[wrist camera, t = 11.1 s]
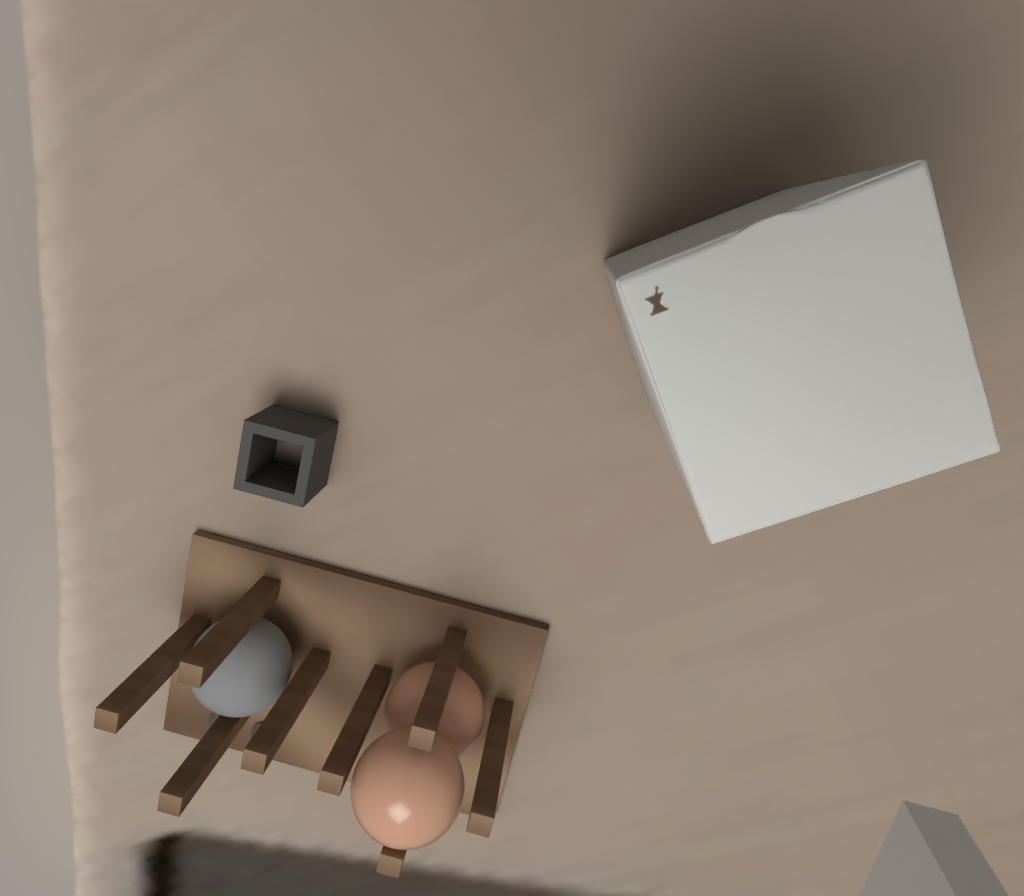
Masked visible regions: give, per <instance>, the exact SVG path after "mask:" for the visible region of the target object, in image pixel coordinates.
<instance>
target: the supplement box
mask: <svg viewBox="0 0 1024 896" xmlns="http://www.w3.org/2000/svg"><path fill="white" fill-rule="evenodd" d="M603 264H604V268H605V271H606V275H607V278H608V281H609V284H610V287H611V290H612V293H613V296H614V299H615V302H616V305H617V308H618V312H619V315H620V318H621V321H622V324H623V327H624V330H625V333H626V336H627V339H628V343H629V345H630V348H631V351H632V354H633V357H634V360H635V363H636V366H637V369H638V372H639V374H640V377H641V380H642V383H643V385H644V388H645V391H646V393H647V396H648V399H649V401H650V404H651V407H652V409H653V412H654V414H655V417H656V419H657V422H658V424H659V427H660V429H661V432H662V434H663V436H664V439H665V441H666V443H667V446H668V448H669V451H670V453H671V455H672V458H673V460H674V462H675V465H676V467H677V469H678V471H679V474H680V476H681V478H682V480H683V483H684V485H685V487H686V490H687V492H688V494H689V496H690V499H691V501H692V503H693V506H694V508H695V510H696V512H697V515H698V517H699V519H700V521H701V524H702V526H703V528H704V531H705V533H706V535H707V537H708V540H709V541H710V543H712V544H714V543H717V542H720V541H723V540H727V539H730V538H733V537H736V536H739V535H742V534H746V533H749V532H752V531H755V530H758V529H761V528H764V527H767V526H770V525H773V524H777V523H780V522H783V521H786V520H789V519H792V518H795V517H798V516H801V515H804V514H808V513H811V512H814V511H817V510H820V509H823V508H826V507H829V506H832V505H835V504H839V503H842V502H845V501H848V500H851V499H854V498H857V497H861V496H864V495H867V494H870V493H873V492H876V491H879V490H882V489H886V488H889V487H892V486H895V485H898V484H901V483H904V482H908V481H911V480H914V479H917V478H920V477H923V476H926V475H929V474H932V473H935V472H938V471H941V470H944V469H947V468H950V467H953V466H956V465H959V464H962V463H965V462H969V461H972V460H975V459H978V458H981V457H984V456H987V455H991V454H994V453H997V452H999V451H1000V447H999V444H998V441H997V439H996V435H995V431H994V427H993V423H992V419H991V415H990V410H989V406H988V403H987V399H986V396H985V392H984V388H983V384H982V382H981V378H980V373H979V370H978V366H977V363H976V359H975V356H974V352H973V348H972V344H971V340H970V336H969V332H968V329H967V325H966V321H965V318H964V314H963V310H962V306H961V302H960V298H959V294H958V290H957V286H956V282H955V278H954V274H953V270H952V265H951V261H950V257H949V253H948V249H947V245H946V240H945V236H944V232H943V228H942V223H941V219H940V215H939V211H938V206H937V202H936V198H935V194H934V189H933V185H932V181H931V177H930V173H929V169H928V165H927V162H926V160H914V161H907V162H902V163H897V164H893V165H889V166H884V167H880V168H875V169H871V170H867V171H862V172H858V173H854V174H850V175H845V176H841V177H837V178H833V179H828V180H824V181H820V182H815V183H811V184H807V185H802V186H798V187H793V188H789V189H785V190H782V191H779V192H777V193H774V194H771V195H769V196H766V197H763V198H761V199H758V200H756V201H753V202H751V203H748V204H745V205H743V206H740V207H738V208H735V209H732V210H730V211H727V212H725V213H722V214H720V215H717V216H714V217H712V218H709V219H707V220H704V221H702V222H699V223H697V224H694V225H691V226H689V227H686V228H684V229H681V230H679V231H676V232H673V233H671V234H668V235H666V236H663V237H661V238H658V239H655V240H653V241H650V242H648V243H645V244H643V245H640V246H638V247H635V248H633V249H630V250H627V251H625V252H622V253H620V254H617V255H615V256H612V257H610V258H608V259H606V260H605V261H604V263H603Z"/></svg>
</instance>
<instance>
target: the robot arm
mask: <svg viewBox="0 0 1024 896" xmlns="http://www.w3.org/2000/svg"><path fill="white" fill-rule="evenodd" d="M860 896H1008V894H1007V893H1006V891H1005V889H1004V888H1003V886H1002V885H1001V883H1000V881H999V880H998V878H997V877H996V875H995V873H994V872H993V870H992V869H991V867H990V866H989V864H988V862H987V861H986V859H985V858H984V856H983V854H982V853H981V851H980V850H979V848H978V847H977V845H976V843H975V842H974V840H973V839H972V837H971V835H970V834H969V832H968V831H967V829H966V827H965V826H964V824H963V823H962V821H961V820H960V818H959V816H958V815H955V814H952V813H948V812H944V811H941V810H937V809H933V808H930V807H926V806H922V805H919V804H915V803H911V802H908V801H904V800H903V801H902V803H901V806H900V808H899V810H898V812H897V815H896V817H895V819H894V821H893V823H892V826H891V828H890V830H889V832H888V835H887V837H886V839H885V841H884V843H883V846H882V848H881V850H880V852H879V854H878V857H877V859H876V861H875V863H874V866H873V868H872V870H871V872H870V874H869V877H868V879H867V881H866V883H865V886H864V888H863V890H862V892H861V894H860Z"/></svg>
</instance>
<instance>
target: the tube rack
mask: <svg viewBox="0 0 1024 896" xmlns="http://www.w3.org/2000/svg"><path fill="white" fill-rule="evenodd" d="M261 617H262V618H264V619H267V620H269V621H270V622H272V623H273V624H275V625H276V626H277V627H278V628H279V629H280V630H281V631H282V632H283V633H284V635H285V636H286V638H287V639H288V642H289V644H290V647H291V650H292V656H293V668H292V673H291V677H290V680H289V683H288V685H287V686H286V688H285V689H284V691H283V692H282V694H281V695H280V697H279V698H278V699H277V700H276V701H275V702H274V703H273V704H272V705H271V706H269V707H268V708H266V709H265V710H263V711H261V712H259V713H257V714H254V715H250V716H247V717H226V716H222V715H219V714H216V713H214V712H212V711H211V710H209V709H207V708H206V707H205V706H204V705H203V704H202V703H201V702H200V701H199V700H198V699H197V698H196V696H195V695H194V693H193V691H192V688H191V686H193V687H196V688H201V686H202V685H203V684H204V683H205V682H206V681H207V679H208V678H209V677H210V676H211V675H212V674H213V673H214V671H215V670H216V669H217V668H218V667H219V666H220V664H221V663H222V662H223V661H224V660H225V659H226V657H227V656H228V655H229V654H230V653H231V652H232V650H233V649H234V648H235V647H236V646H237V645H238V644H239V642H240V641H241V640H242V639H243V638H244V637H245V635H246V634H247V633H248V632H249V631H250V630H251V628H252V627H253V626H254V625H255V624H256V623H257V621H258V620H259V619H260V618H261ZM218 621H219V622H218ZM216 622H218V623H217V624H216V625H215V626H214V627H213V628H212V629H211V630H210V631H209V632H208V633H207V634H206V635H205V636H204V637H203V638H202V639H201V640H200V641H199V642H198V643H197V644H196V645H195V643H196V641H197V640H198V639H199V637H200V636H201V635H202V634H203V632H204V631H206V630H207V629H208V628H209V627H210V626H211V625H213V624H214V623H216ZM548 629H549V625H546V624H542V623H538V622H535V621H531V620H527V619H524V618H520V617H516V616H513V615H509V614H505V613H502V612H498V611H494V610H490V609H487V608H483V607H479V606H476V605H472V604H468V603H465V602H461V601H457V600H454V599H450V598H446V597H442V596H439V595H435V594H431V593H428V592H424V591H420V590H417V589H413V588H409V587H406V586H402V585H398V584H395V583H391V582H387V581H383V580H380V579H376V578H372V577H369V576H365V575H361V574H358V573H354V572H350V571H347V570H343V569H339V568H336V567H332V566H328V565H324V564H321V563H317V562H313V561H310V560H306V559H302V558H299V557H295V556H291V555H288V554H284V553H280V552H277V551H273V550H269V549H265V548H262V547H258V546H254V545H251V544H247V543H243V542H240V541H236V540H232V539H229V538H225V537H221V536H217V535H214V534H210V533H206V532H203V531H199V530H198V531H196V532H195V533H194V534H193V536H192V542H191V549H190V556H189V562H188V569H187V576H186V582H185V589H184V596H183V602H182V609H181V616H180V622H179V629H178V630H177V631H176V632H175V633H174V634H173V635H172V636H171V637H170V638H169V639H167V640H166V641H165V642H164V643H163V644H162V645H161V646H160V647H159V648H158V649H157V650H156V651H155V652H154V653H153V654H152V655H151V656H150V657H149V658H148V659H147V660H146V661H144V662H143V663H142V664H141V665H140V666H139V667H138V668H137V669H136V670H135V671H134V672H133V673H132V674H131V675H130V676H129V677H128V678H127V679H126V680H125V681H124V682H122V683H121V684H120V685H119V686H118V687H117V688H116V689H115V690H114V691H113V692H112V693H111V694H110V695H109V696H108V697H107V698H106V699H105V700H104V701H103V702H102V703H101V704H99V705H98V706H97V707H96V712H95V720H94V728H97V729H100V730H104V731H108V732H111V733H115V734H116V733H117V732H118V731H119V730H120V729H121V728H122V727H123V726H124V725H125V724H126V722H127V721H128V720H129V719H130V718H131V717H132V716H133V715H134V714H135V713H136V712H137V711H138V710H139V709H140V708H141V707H142V706H143V705H144V704H145V703H146V701H147V700H148V699H149V698H150V697H151V696H152V695H153V694H154V693H155V692H156V691H157V690H158V689H159V688H160V687H161V686H162V685H163V684H164V683H165V681H166V680H167V679H168V678H169V677H170V676H171V675H172V676H171V682H170V689H169V696H168V702H167V709H166V716H165V722H164V729H163V730H167V731H171V732H174V733H178V734H181V735H185V736H189V737H192V738H196V739H199V740H200V741H199V742H198V744H197V745H196V746H195V748H194V749H193V750H192V752H191V753H190V754H189V755H188V757H187V758H186V759H185V761H184V762H183V763H182V764H181V766H180V767H179V768H178V770H177V771H176V772H175V774H174V775H173V776H172V777H171V779H170V780H169V781H168V783H167V784H166V785H165V786H164V788H163V789H162V790H161V792H160V796H159V803H158V810H157V811H160V812H164V813H167V814H171V815H174V816H178V817H179V816H180V815H181V813H182V812H183V811H184V809H185V808H186V806H187V805H188V803H189V802H190V801H191V799H192V798H193V796H194V795H195V794H196V792H197V791H198V789H199V788H200V787H201V785H202V784H203V782H204V781H205V779H206V778H207V777H208V775H209V774H210V772H211V771H212V770H213V768H214V767H215V765H216V764H217V763H218V761H219V760H220V758H221V757H222V755H223V754H224V753H225V751H226V750H227V748H232V749H235V750H239V751H242V752H243V758H242V763H241V769H244V770H247V771H251V772H255V773H258V774H262V775H263V774H264V772H265V771H266V769H267V767H268V766H269V764H270V762H271V761H272V760H275V761H278V762H282V763H286V764H289V765H293V766H296V767H300V768H304V769H307V770H311V771H314V772H318V773H320V778H319V782H318V787H317V790H319V791H323V792H326V793H330V794H334V795H337V796H340V794H341V791H342V789H343V787H344V785H345V783H346V780H347V781H350V782H351V781H352V776H353V772H354V769H355V767H356V764H357V762H358V760H359V758H360V757H361V755H362V754H363V752H364V751H365V750H366V749H367V747H368V746H369V745H370V744H371V743H372V742H373V741H375V740H376V739H377V738H378V737H380V736H382V735H383V734H385V733H387V732H386V728H385V724H384V708H385V702H386V699H387V696H388V693H389V691H390V689H391V687H392V686H393V684H394V683H395V682H396V680H397V679H398V678H399V677H400V676H401V675H402V674H403V673H404V672H406V671H407V670H408V669H410V668H412V667H414V666H416V665H418V664H421V663H424V662H430V661H436V662H435V665H434V667H433V670H432V673H431V676H430V678H429V681H428V684H427V687H426V689H425V692H424V695H423V698H422V700H421V703H420V706H419V708H418V711H417V714H416V717H415V719H414V722H413V725H412V729H411V733H410V737H409V741H408V745H407V746H410V747H413V748H417V749H421V750H424V751H428V752H431V749H432V746H433V743H434V739H435V736H436V733H437V730H438V727H439V723H440V720H441V717H442V714H443V710H444V707H445V704H446V701H447V698H448V694H449V691H450V688H451V685H452V682H453V678H454V675H455V672H456V669H457V666H458V667H460V668H461V669H463V670H464V671H466V672H467V673H468V674H469V675H470V676H471V677H472V678H473V680H474V681H475V682H476V684H477V685H478V687H479V689H480V691H481V694H482V697H483V701H484V707H485V717H484V724H483V728H482V731H481V734H480V736H479V738H478V740H477V742H476V743H475V744H474V746H473V747H472V749H471V750H470V751H469V752H468V753H467V754H465V755H464V756H463V757H462V758H460V759H459V760H460V763H461V765H462V769H463V773H464V780H465V792H464V798H463V803H462V806H461V809H460V812H462V813H465V814H469V815H470V816H469V820H468V825H467V830H466V832H470V833H473V834H477V835H481V836H484V837H488V838H489V836H490V832H491V829H492V825H493V822H494V818H495V814H496V810H497V807H498V803H499V800H500V796H501V793H502V789H503V786H504V782H505V779H506V776H507V772H508V769H509V765H510V762H511V758H512V755H513V751H514V748H515V744H516V741H517V737H518V734H519V730H520V727H521V724H522V720H523V717H524V713H525V710H526V706H527V703H528V699H529V696H530V692H531V689H532V685H533V682H534V679H535V675H536V672H537V668H538V665H539V661H540V658H541V654H542V651H543V647H544V644H545V640H546V637H547V633H548ZM194 645H195V646H194ZM406 851H407V850H397V849H393V848H389V847H386V846H383V848H382V851H381V855H380V859H379V863H378V867H377V871H376V872H377V873H381V874H384V875H388V876H391V877H395V878H398V877H399V874H400V871H401V867H402V864H403V861H404V857H405V854H406Z"/></svg>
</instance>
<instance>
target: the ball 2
mask: <svg viewBox="0 0 1024 896" xmlns="http://www.w3.org/2000/svg"><path fill="white" fill-rule="evenodd" d="M435 662H436V661H430V662H424V663H421V664H418V665H416V666H414V667H412V668H410V669H408V670H407V671H406V672H404V673H403V674H402V675H401V676H400V677H399V678H398V679H397V680H396V682H395V683H394V684H393V686H392V687H391V689H390V691H389V693H388V696H387V699H386V702H385V708H384V724H385V728H386V732H390V731H392V730H395V729H399V728H406V727H412V725H413V722H414V719H415V717H416V714H417V711H418V708H419V706H420V703H421V700H422V698H423V695H424V692H425V689H426V687H427V684H428V681H429V678H430V676H431V673H432V670H433V667H434V665H435ZM484 717H485V707H484V701H483V697H482V694H481V691H480V689H479V687H478V685H477V684H476V682H475V681H474V680H473V678H472V677H471V676H470V675H469V674H468V673H467V672H466V671H464V670H463V669H461V668H460V667H458V666H457V669H456V672H455V675H454V678H453V682H452V685H451V688H450V691H449V694H448V698H447V701H446V704H445V707H444V710H443V714H442V717H441V720H440V723H439V727H438V730H437V733H436V734H437V735H439V736H440V737H442V738H443V739H444V740H445V741H446V742H447V743H448V744H449V745H450V746H451V747H452V748H453V750H454V751H455V753H456V754H457V756H458V758H459V759H460V758H462V757H463V756H464V755H465V754H467V753H468V752H469V751H470V750H471V749H472V747H473V746H474V744H475V743H476V742H477V740H478V738H479V736H480V734H481V731H482V728H483V724H484Z"/></svg>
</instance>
